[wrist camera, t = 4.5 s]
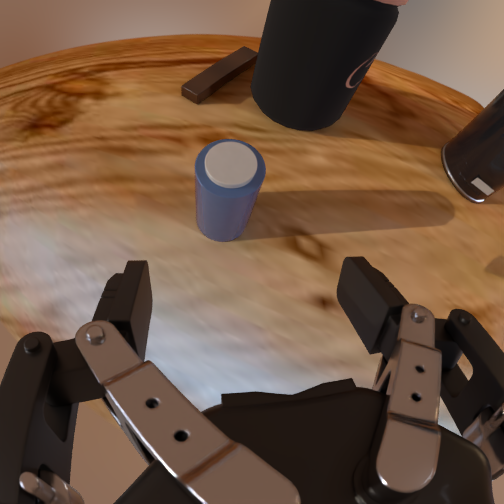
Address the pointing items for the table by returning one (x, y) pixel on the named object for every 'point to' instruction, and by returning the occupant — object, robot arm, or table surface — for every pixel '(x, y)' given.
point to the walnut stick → (218, 74)
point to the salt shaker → (227, 187)
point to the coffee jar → (317, 57)
